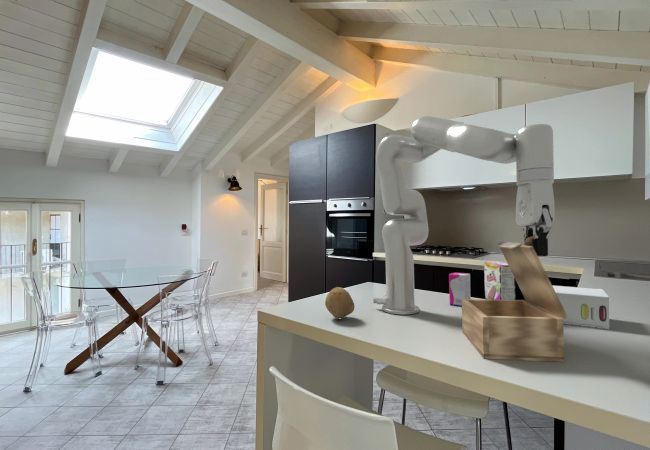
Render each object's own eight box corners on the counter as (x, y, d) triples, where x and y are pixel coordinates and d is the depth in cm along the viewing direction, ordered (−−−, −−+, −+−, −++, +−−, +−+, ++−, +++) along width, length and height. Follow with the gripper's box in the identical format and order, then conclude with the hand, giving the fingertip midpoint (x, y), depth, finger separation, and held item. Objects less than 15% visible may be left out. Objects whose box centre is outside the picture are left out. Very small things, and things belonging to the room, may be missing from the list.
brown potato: (320, 316, 107) (320, 286, 107) (345, 313, 111) (344, 283, 111) (332, 324, 99) (331, 290, 99) (358, 320, 102) (357, 288, 102)
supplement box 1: (471, 304, 120) (470, 273, 120) (465, 307, 116) (464, 275, 116) (455, 302, 124) (454, 271, 124) (449, 305, 120) (448, 273, 120)
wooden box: (483, 358, 72) (482, 317, 72) (462, 332, 89) (461, 299, 89) (564, 361, 69) (563, 319, 69) (526, 334, 87) (525, 300, 87)
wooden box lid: (521, 249, 70) (556, 234, 69) (491, 244, 89) (519, 233, 87) (556, 322, 69) (593, 308, 68) (519, 302, 87) (547, 291, 86)
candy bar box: (484, 308, 114) (483, 261, 114) (498, 308, 114) (497, 261, 114) (500, 317, 103) (499, 265, 103) (516, 317, 103) (515, 264, 103)
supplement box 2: (537, 321, 99) (536, 290, 99) (538, 311, 110) (537, 283, 110) (610, 330, 90) (609, 295, 90) (603, 318, 100) (603, 288, 100)
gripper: (504, 183, 87) (506, 252, 87) (533, 173, 71) (534, 258, 71) (535, 182, 86) (537, 252, 86) (571, 172, 70) (573, 258, 70)
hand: (535, 254), depth 78 cm, fingers closed on wooden box lid, 3 cm apart
